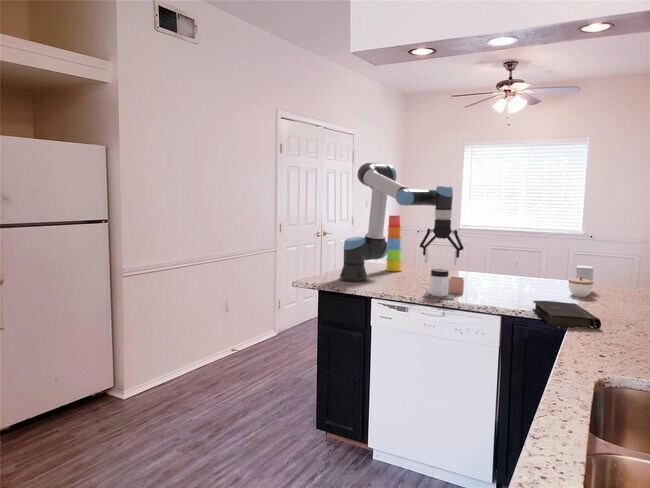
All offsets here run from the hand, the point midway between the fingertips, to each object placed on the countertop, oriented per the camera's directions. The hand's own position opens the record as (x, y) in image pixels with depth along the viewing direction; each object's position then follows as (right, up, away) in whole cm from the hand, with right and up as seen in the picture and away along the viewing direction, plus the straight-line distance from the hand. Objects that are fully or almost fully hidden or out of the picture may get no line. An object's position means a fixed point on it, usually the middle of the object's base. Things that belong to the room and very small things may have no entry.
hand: (440, 263), depth 224 cm
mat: (0, -16, +2) cm, 16 cm away
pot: (+10, -15, +11) cm, 21 cm away
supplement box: (+79, -15, +21) cm, 83 cm away
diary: (+40, -22, -36) cm, 58 cm away
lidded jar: (+71, -17, +8) cm, 73 cm away
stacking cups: (-12, -8, +71) cm, 72 cm away
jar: (0, -15, +2) cm, 16 cm away
